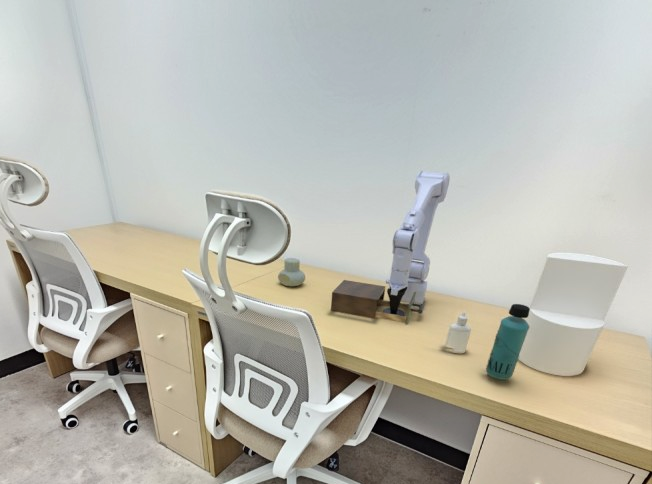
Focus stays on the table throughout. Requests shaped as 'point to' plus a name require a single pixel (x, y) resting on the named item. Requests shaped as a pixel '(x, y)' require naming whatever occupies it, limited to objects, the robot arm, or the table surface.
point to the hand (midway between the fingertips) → (394, 308)
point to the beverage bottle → (508, 343)
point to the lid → (394, 312)
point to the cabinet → (357, 298)
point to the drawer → (404, 307)
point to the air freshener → (291, 273)
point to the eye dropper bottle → (458, 335)
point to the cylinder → (569, 311)
